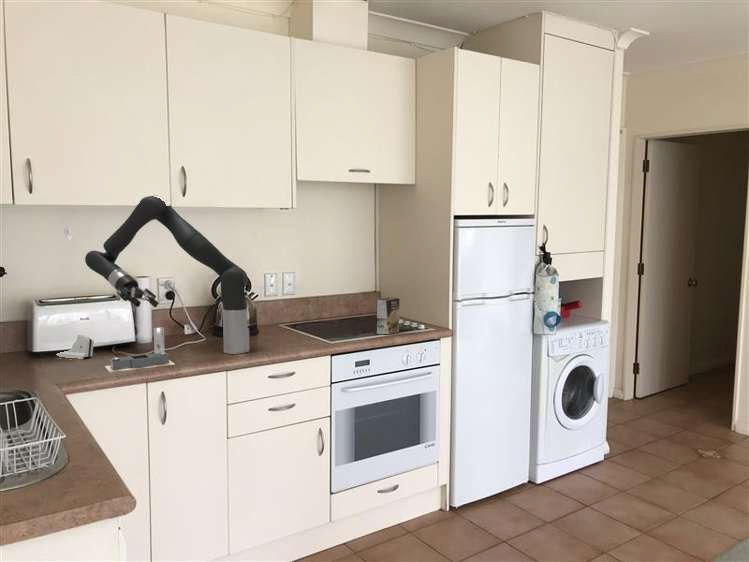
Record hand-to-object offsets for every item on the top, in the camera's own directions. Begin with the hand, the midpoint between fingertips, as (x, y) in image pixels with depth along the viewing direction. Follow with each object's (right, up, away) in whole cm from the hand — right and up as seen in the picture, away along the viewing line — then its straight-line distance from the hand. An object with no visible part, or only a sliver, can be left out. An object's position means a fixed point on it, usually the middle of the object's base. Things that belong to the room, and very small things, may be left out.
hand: (148, 305), depth 241 cm
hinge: (-30, -20, +3) cm, 36 cm away
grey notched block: (+2, -21, -13) cm, 25 cm away
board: (+2, -22, -13) cm, 25 cm away
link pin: (+5, -20, -1) cm, 21 cm away
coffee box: (+91, -15, +54) cm, 107 cm away
